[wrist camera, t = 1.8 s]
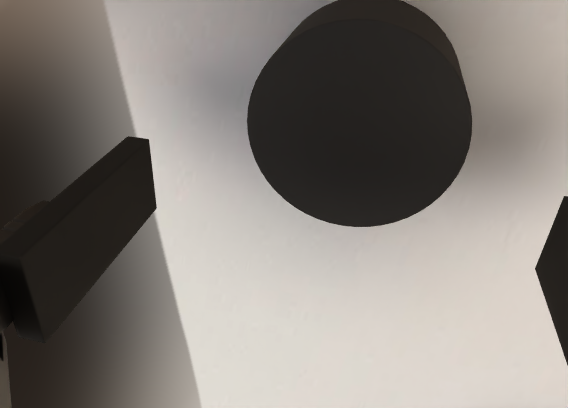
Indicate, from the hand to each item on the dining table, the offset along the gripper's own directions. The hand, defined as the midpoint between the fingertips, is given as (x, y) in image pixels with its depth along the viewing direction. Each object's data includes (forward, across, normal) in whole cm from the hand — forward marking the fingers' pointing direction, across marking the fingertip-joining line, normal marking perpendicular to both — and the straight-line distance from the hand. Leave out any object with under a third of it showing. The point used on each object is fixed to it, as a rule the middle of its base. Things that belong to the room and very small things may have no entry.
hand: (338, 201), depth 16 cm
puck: (+10, 0, 0) cm, 10 cm away
